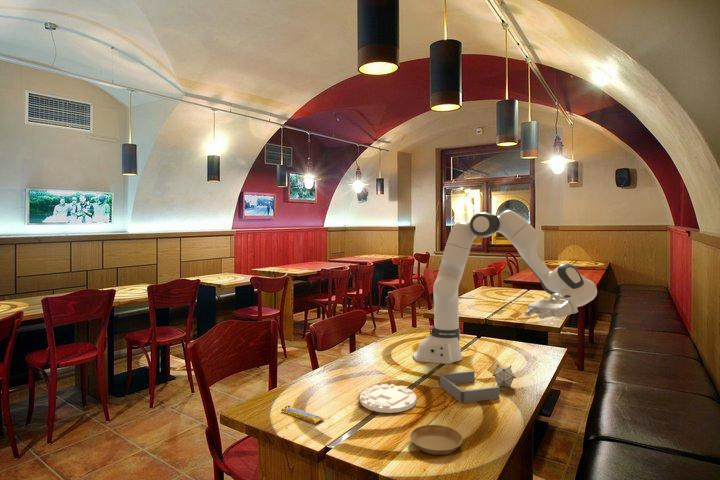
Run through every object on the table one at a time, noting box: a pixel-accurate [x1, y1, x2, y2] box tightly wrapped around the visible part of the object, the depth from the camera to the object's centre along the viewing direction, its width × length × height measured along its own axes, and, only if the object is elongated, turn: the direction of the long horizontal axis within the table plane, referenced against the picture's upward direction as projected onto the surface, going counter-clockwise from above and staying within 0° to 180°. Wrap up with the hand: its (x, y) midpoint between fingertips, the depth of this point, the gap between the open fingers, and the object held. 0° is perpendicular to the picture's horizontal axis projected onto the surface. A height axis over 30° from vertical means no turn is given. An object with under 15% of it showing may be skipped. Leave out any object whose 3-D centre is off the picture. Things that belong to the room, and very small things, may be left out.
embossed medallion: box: [359, 383, 417, 414], centre depth 154 cm, size 20×20×3 cm
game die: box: [492, 364, 517, 389], centre depth 167 cm, size 9×8×10 cm
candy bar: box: [281, 405, 324, 424], centre depth 143 cm, size 17×4×2 cm, turn 53°
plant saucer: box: [409, 424, 464, 456], centre depth 124 cm, size 15×15×3 cm
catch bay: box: [438, 370, 500, 404], centre depth 163 cm, size 15×18×4 cm
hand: (532, 315), depth 173 cm, fingers open, 8 cm apart
